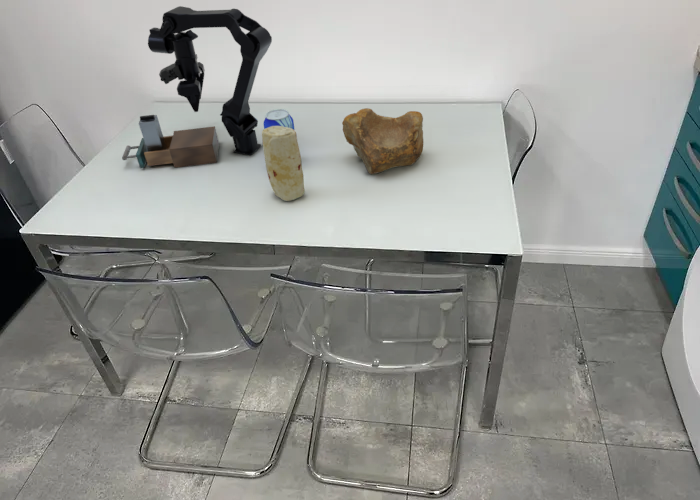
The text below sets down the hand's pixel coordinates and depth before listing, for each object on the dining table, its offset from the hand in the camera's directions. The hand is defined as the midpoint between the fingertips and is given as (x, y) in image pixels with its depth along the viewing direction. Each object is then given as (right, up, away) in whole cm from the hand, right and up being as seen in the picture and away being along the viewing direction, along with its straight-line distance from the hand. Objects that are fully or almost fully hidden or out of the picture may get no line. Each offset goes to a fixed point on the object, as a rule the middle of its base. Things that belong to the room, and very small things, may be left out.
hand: (197, 105), depth 173 cm
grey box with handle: (-12, -15, 0) cm, 19 cm away
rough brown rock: (+56, -20, -10) cm, 61 cm away
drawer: (-14, -16, +1) cm, 21 cm away
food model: (+30, -30, -20) cm, 47 cm away
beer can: (+27, -19, -6) cm, 34 cm away
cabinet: (-1, -15, +2) cm, 15 cm away
